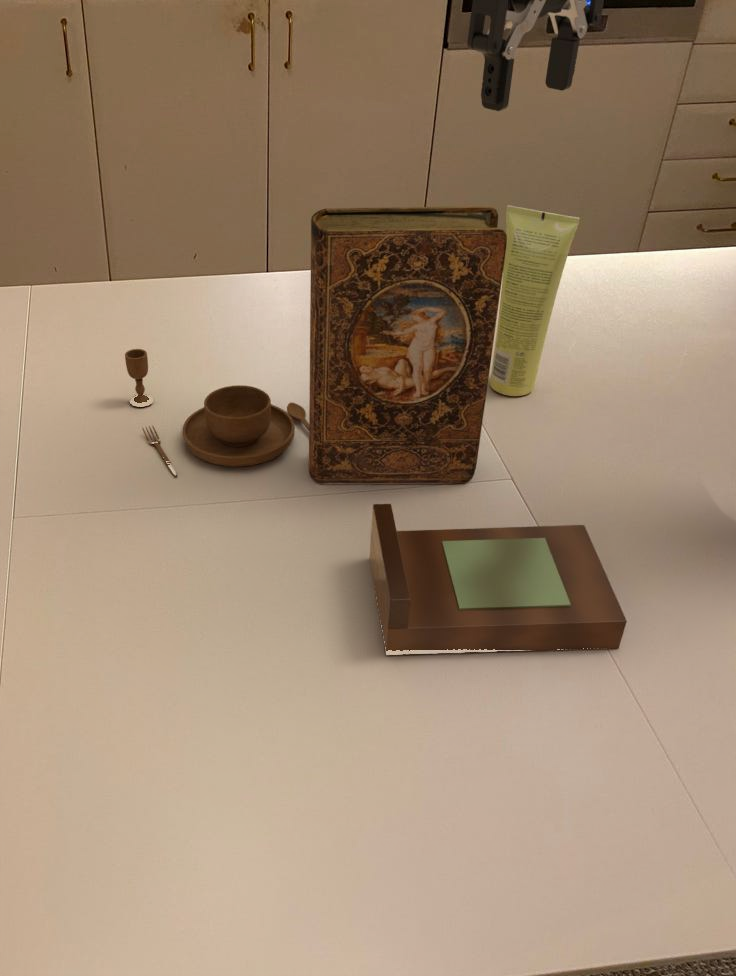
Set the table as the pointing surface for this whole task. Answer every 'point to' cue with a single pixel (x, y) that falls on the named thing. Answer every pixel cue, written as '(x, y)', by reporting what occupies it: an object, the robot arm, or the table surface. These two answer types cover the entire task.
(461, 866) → the table surface
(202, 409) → the place setting
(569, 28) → the robot arm
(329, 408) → the book
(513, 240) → the tube
